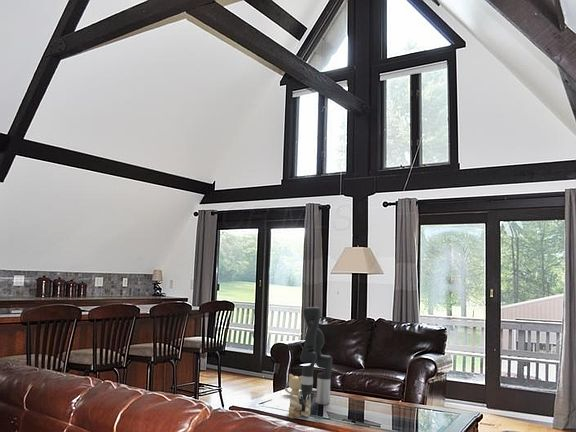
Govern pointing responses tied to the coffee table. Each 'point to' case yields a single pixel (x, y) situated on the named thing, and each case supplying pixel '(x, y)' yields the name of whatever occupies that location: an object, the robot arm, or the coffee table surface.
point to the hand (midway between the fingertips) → (305, 410)
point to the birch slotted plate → (295, 402)
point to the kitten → (294, 384)
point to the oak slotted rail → (294, 412)
